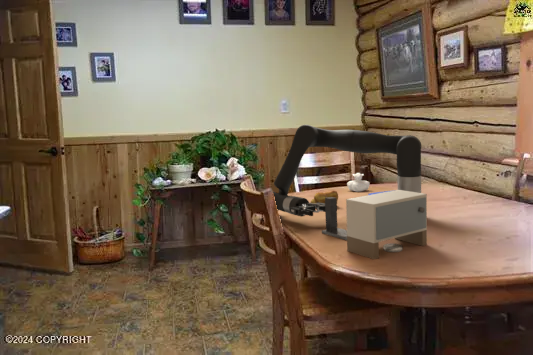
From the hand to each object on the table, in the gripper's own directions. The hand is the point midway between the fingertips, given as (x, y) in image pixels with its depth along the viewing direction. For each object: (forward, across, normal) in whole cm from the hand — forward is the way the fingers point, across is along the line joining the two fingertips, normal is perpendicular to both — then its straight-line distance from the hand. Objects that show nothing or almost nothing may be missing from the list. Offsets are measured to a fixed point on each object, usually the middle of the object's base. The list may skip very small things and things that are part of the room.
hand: (321, 211), depth 193 cm
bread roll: (-33, +28, +7) cm, 44 cm away
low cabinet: (+34, 0, +7) cm, 34 cm away
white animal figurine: (-51, +67, +7) cm, 85 cm away
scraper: (+14, 0, +7) cm, 16 cm away
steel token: (+36, 0, +7) cm, 37 cm away
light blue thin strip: (-26, +67, +8) cm, 72 cm away
